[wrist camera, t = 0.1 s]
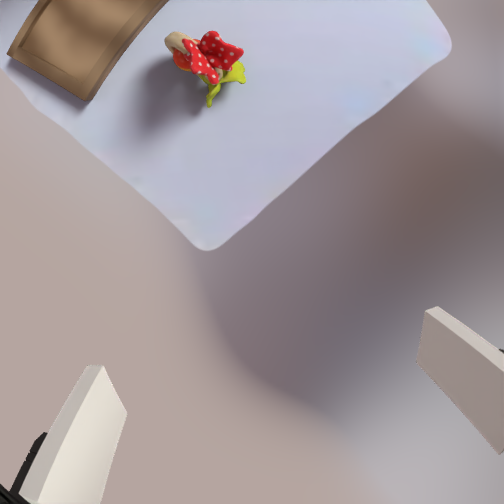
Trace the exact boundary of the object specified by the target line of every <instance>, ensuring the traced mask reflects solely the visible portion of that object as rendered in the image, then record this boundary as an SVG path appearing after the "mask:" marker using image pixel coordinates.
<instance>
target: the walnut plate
mask: <svg viewBox="0 0 504 504" xmlns="http://www.w3.org/2000/svg"><path fill="white" fill-rule="evenodd" d="M168 1H169V0H39V1H38V2H37V4H36V5H35V7H34V8H33V10H32V11H31V13H30V14H29V16H28V17H27V19H26V20H25V22H24V24H23V25H22V27H21V29H20V30H19V32H18V34H17V35H16V37H15V39H14V41H13V43H12V44H11V46H10V48H9V50H8V52H7V55H9V56H10V57H12V58H14V59H16V60H17V61H19V62H21V63H23V64H24V65H26V66H28V67H29V68H31V69H33V70H35V71H36V72H38V73H40V74H41V75H43V76H45V77H46V78H48V79H50V80H51V81H53V82H55V83H56V84H58V85H60V86H61V87H63V88H64V89H66V90H68V91H69V92H71V93H72V94H74V95H76V96H77V97H79V98H81V99H82V100H84V101H88V100H92V99H93V98H94V96H95V94H96V93H97V91H98V89H99V88H100V86H101V85H102V83H103V82H104V80H105V79H106V77H107V76H108V74H109V73H110V71H111V70H112V68H113V67H114V66H115V64H116V63H117V61H118V60H119V59H120V57H121V56H122V55H123V53H124V52H125V51H126V49H127V48H128V47H129V45H130V44H131V43H132V42H133V40H134V39H135V38H136V37H137V35H138V34H139V33H140V32H141V31H142V29H143V28H144V27H145V26H146V25H147V23H148V22H149V21H150V20H151V19H152V18H153V17H154V16H155V15H156V13H157V12H158V11H159V10H160V9H161V8H162V7H163V6H164V5H165V4H166V3H167V2H168Z"/></svg>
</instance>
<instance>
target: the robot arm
mask: <svg viewBox="0 0 504 504" xmlns="http://www.w3.org/2000/svg"><path fill="white" fill-rule="evenodd" d="M416 363H417V364H418V365H419V366H420V367H421V368H422V369H423V370H424V371H425V372H426V374H428V376H429V377H430V378H431V379H432V380H433V381H434V382H435V383H436V384H437V385H438V386H439V387H440V389H441V390H442V391H443V392H444V393H445V394H446V395H447V396H448V397H449V398H450V399H451V401H452V402H453V403H454V404H455V405H456V406H457V407H458V408H459V409H460V410H461V412H462V413H463V414H464V415H465V416H466V417H467V418H468V419H469V420H470V422H471V423H472V424H473V425H474V426H475V427H476V429H477V430H478V431H479V432H480V433H481V434H482V436H483V437H484V438H485V439H486V440H487V441H488V443H490V445H491V446H492V447H493V448H494V450H495V451H496V452H497V453H498V454H499V455H500V454H501V453H502V452H503V451H504V350H501V349H497V348H496V347H494V346H493V345H492V344H490V343H489V342H487V341H486V340H485V339H483V338H482V337H481V336H479V335H478V334H477V333H475V332H474V331H472V330H471V329H470V328H468V327H467V326H465V325H464V324H463V323H461V322H460V321H458V320H457V319H455V318H454V317H453V316H451V315H450V314H448V313H447V312H445V311H444V310H442V309H441V308H439V307H434V308H432V309H428V310H425V314H424V322H423V327H422V333H421V339H420V345H419V350H418V355H417V360H416ZM126 416H127V412H126V410H125V408H124V407H123V405H122V403H121V401H120V399H119V397H118V395H117V393H116V391H115V389H114V387H113V385H112V383H111V381H110V379H109V377H108V375H107V373H106V370H105V368H104V366H103V365H87V367H86V369H85V371H84V372H83V373H82V375H81V377H80V378H79V380H78V382H77V383H76V385H75V387H74V388H73V390H72V392H71V393H70V395H69V397H68V398H67V400H66V402H65V404H64V405H63V407H62V409H61V410H60V412H59V414H58V416H57V417H56V419H55V421H54V423H53V425H52V427H51V428H50V430H49V432H48V433H45V432H44V433H43V434H42V435H41V436H40V437H38V439H36V440H35V442H34V444H33V445H32V447H31V449H30V453H28V455H27V457H26V461H24V463H23V465H22V467H21V469H20V471H19V473H18V475H17V477H16V479H15V481H14V483H13V485H12V488H11V489H10V491H7V490H6V489H5V488H4V487H3V486H2V485H1V484H0V504H100V503H101V499H102V496H103V492H104V488H105V484H106V481H107V477H108V473H109V470H110V467H111V464H112V460H113V457H114V454H115V450H116V447H117V444H118V441H119V438H120V434H121V431H122V428H123V425H124V422H125V419H126Z"/></svg>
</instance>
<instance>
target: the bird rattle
mask: <svg viewBox="0 0 504 504" xmlns="http://www.w3.org/2000/svg"><path fill="white" fill-rule="evenodd" d="M165 45H166V46H167V48H168V49H169V50H170V51H171V53H172V54H173V59H174V62H175V64H176V65H177V66H178V67H179V68H180V69H182V70H184V71H191V72H192V73H193V74H196V75H197V76H199V77H200V79H202V80H203V81H204V82H205V83H206V84H208V88H209V93H208V94H207V95H206V98H207V100H206V103H207V107H208V108H210V107H211V105H212V100H213V98H214V97H215V95H216V94H217V93H218V92H219V91H220V88H221V83H224V82H233V81H238V82H239V83H241V84H244V83H245V82H246V78H245V75H244V73H243V72H244V71H245V68H244V66H243V64H242V63H241V62H239V61H238V59H239V58H240V57H241V56H242V55H243V53H244V51H243V49H241V48H239V47H236V46H233V45H231V44H227V43H225V42H223V41H222V39H221V37H220V35H219V34H218V33H217V32H215V31H209V32H207V33H206V34H205V35H204V36H203V37H202V39H201V41H200V40H197V39H192V38H190V37H189V36H187V35H185V34H183V33H180V32H172V33H170V34H169V35H168V36H167V37H166V38H165Z"/></svg>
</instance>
